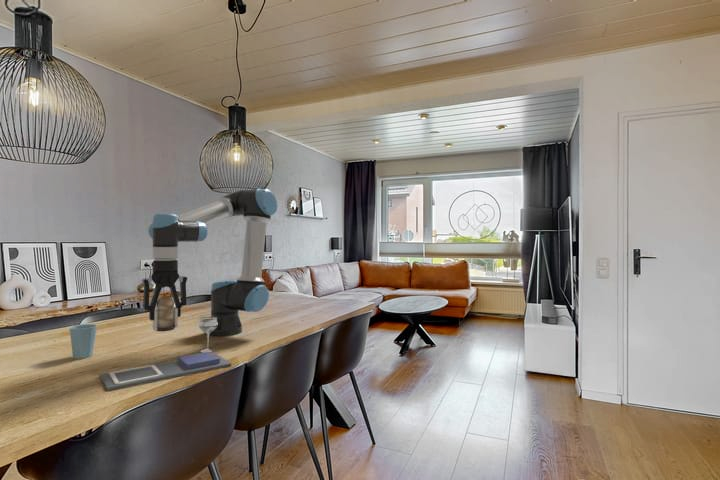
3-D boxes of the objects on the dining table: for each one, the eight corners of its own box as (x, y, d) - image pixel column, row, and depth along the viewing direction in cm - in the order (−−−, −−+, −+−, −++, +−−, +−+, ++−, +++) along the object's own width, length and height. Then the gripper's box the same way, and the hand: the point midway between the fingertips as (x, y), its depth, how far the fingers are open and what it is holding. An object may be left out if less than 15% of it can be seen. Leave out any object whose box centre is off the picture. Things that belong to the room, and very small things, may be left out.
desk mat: (215, 355, 134) (215, 348, 134) (231, 365, 124) (231, 358, 124) (100, 376, 112) (100, 368, 112) (107, 390, 101) (107, 381, 101)
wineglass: (194, 350, 140) (195, 318, 140) (212, 347, 145) (212, 315, 145) (202, 354, 135) (203, 321, 135) (220, 350, 140) (221, 318, 140)
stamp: (172, 326, 131) (172, 294, 131) (176, 329, 127) (176, 296, 127) (154, 329, 127) (154, 296, 127) (158, 332, 123) (158, 298, 123)
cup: (83, 352, 135) (84, 323, 135) (101, 354, 134) (102, 324, 134) (63, 358, 128) (63, 328, 128) (82, 360, 127) (83, 329, 127)
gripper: (190, 258, 136) (190, 322, 136) (131, 260, 124) (131, 330, 124) (197, 259, 130) (197, 326, 130) (136, 261, 118) (136, 335, 118)
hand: (165, 328), depth 127 cm, fingers closed on stamp, 5 cm apart
